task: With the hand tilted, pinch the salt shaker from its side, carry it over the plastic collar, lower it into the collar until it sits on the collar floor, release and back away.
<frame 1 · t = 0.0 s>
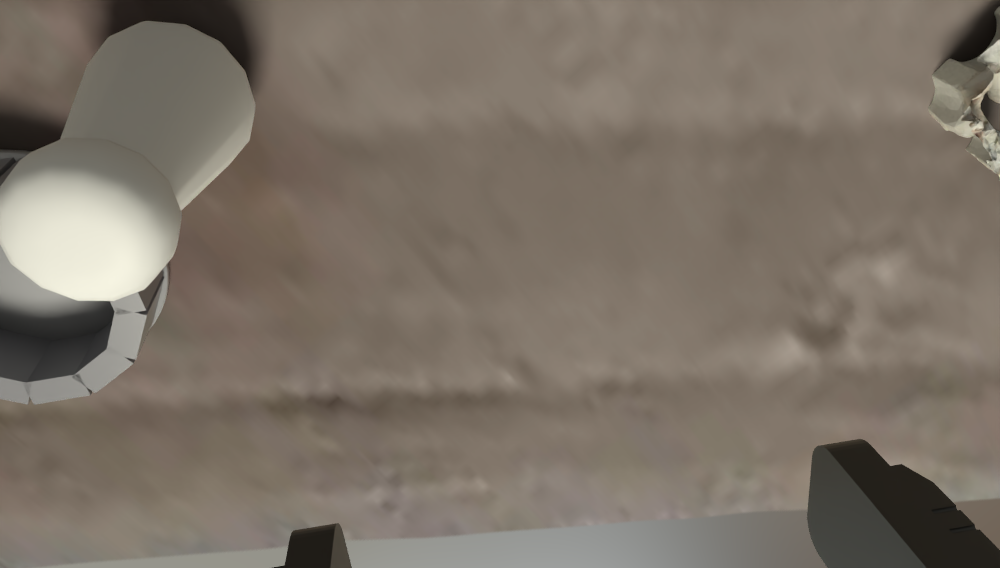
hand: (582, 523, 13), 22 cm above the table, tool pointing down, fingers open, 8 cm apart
salt shaker: (187, 81, 30), on the table
collar: (42, 261, 33), on the table
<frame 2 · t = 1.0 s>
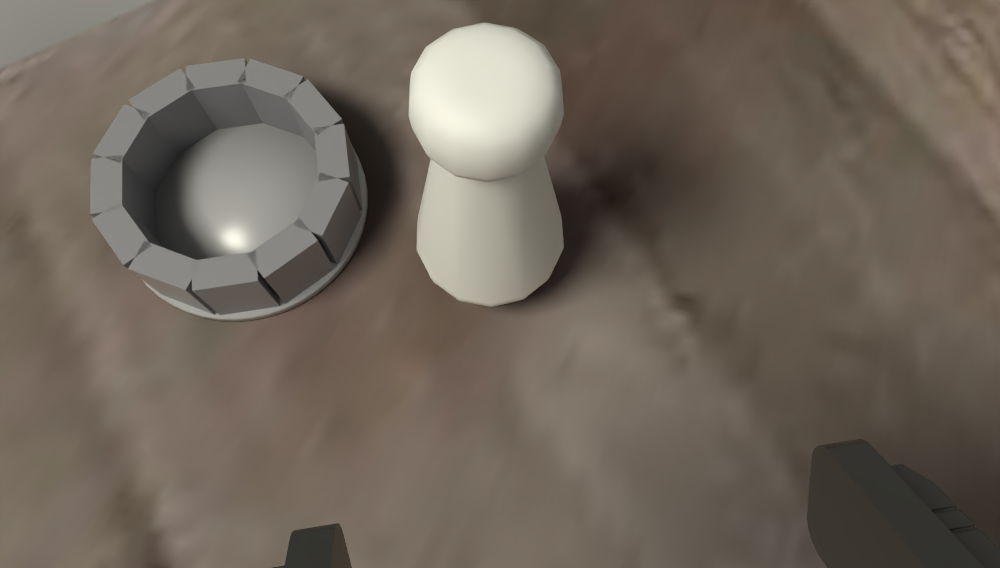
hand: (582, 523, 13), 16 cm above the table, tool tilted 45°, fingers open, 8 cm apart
salt shaker: (490, 258, 32), on the table
collar: (247, 206, 33), on the table
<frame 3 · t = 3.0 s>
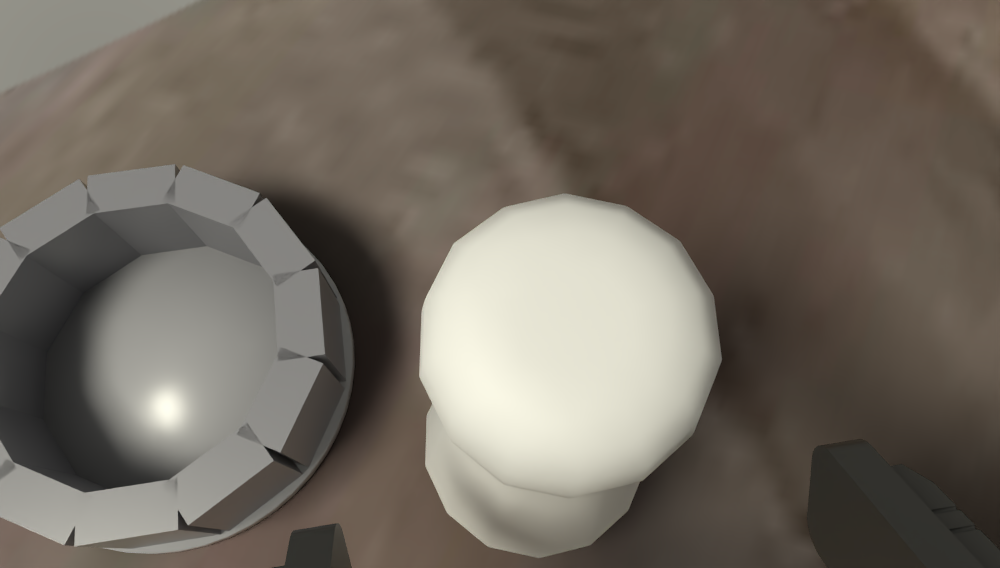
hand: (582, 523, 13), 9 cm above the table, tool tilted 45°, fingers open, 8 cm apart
salt shaker: (531, 453, 22), on the table
collar: (181, 370, 23), on the table
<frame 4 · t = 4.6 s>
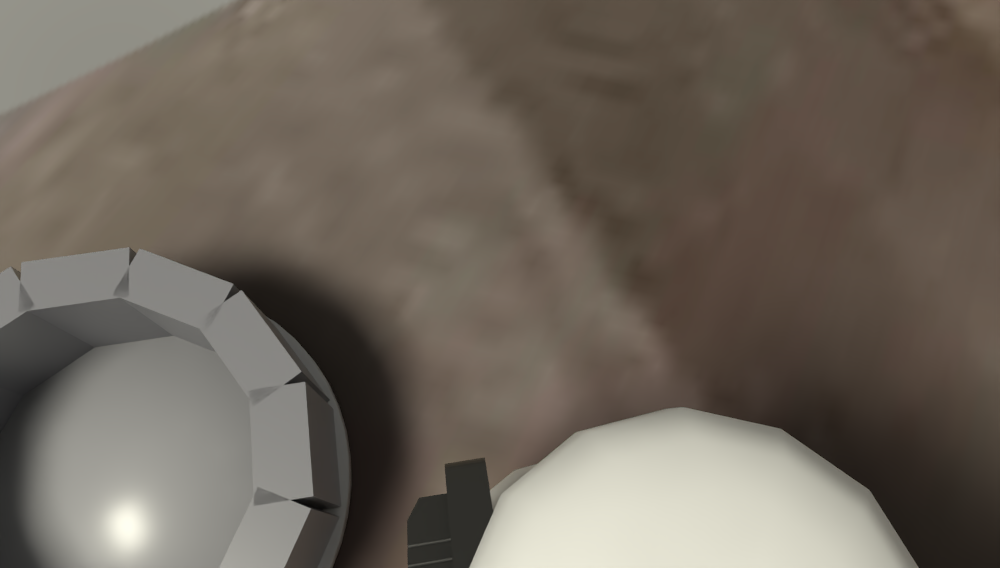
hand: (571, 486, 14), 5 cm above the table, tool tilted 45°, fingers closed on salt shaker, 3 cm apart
collar: (141, 490, 19), on the table
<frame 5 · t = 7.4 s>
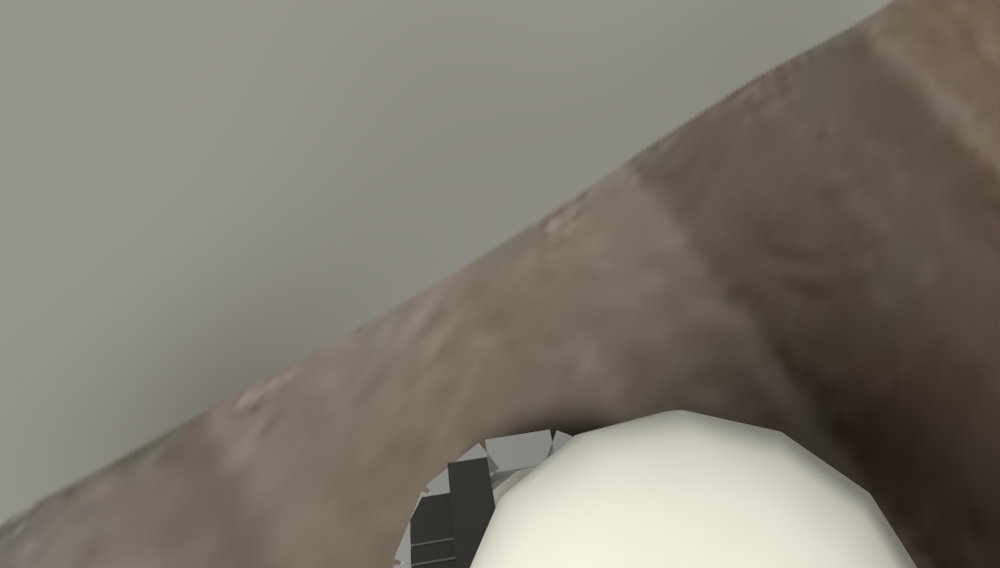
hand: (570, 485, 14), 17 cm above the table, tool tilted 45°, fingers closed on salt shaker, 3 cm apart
when the fingers open (6 cm above the table, at t = 9.8 s): salt shaker stays where it is, resting on collar.
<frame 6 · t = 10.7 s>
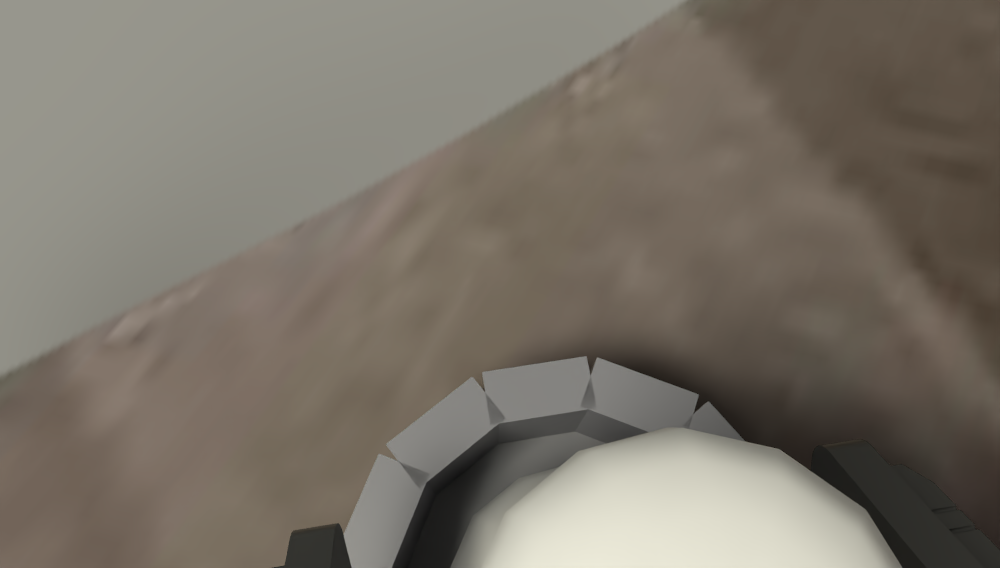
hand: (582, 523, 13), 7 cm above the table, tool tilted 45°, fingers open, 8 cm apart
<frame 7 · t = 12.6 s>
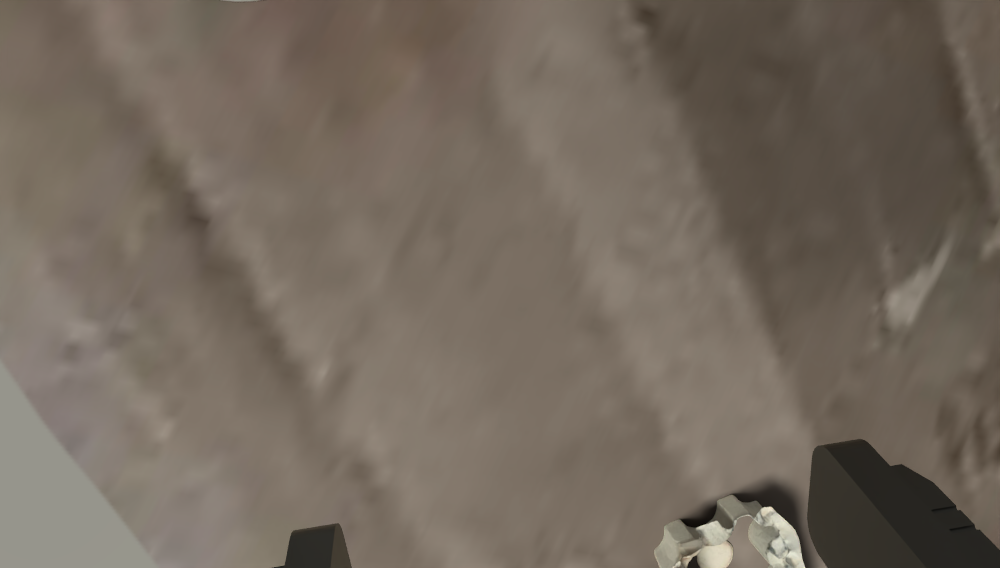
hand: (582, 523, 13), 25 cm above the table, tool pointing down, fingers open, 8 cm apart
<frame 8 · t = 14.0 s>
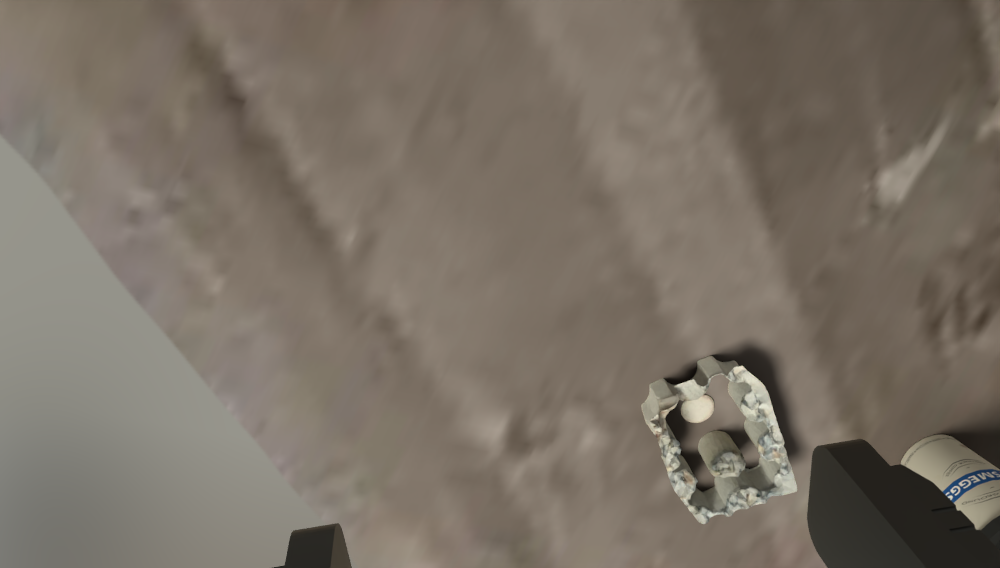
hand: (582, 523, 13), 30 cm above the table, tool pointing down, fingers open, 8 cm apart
coffee cup: (928, 459, 54), on the table
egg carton: (706, 421, 50), on the table
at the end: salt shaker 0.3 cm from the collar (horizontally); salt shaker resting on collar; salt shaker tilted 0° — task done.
